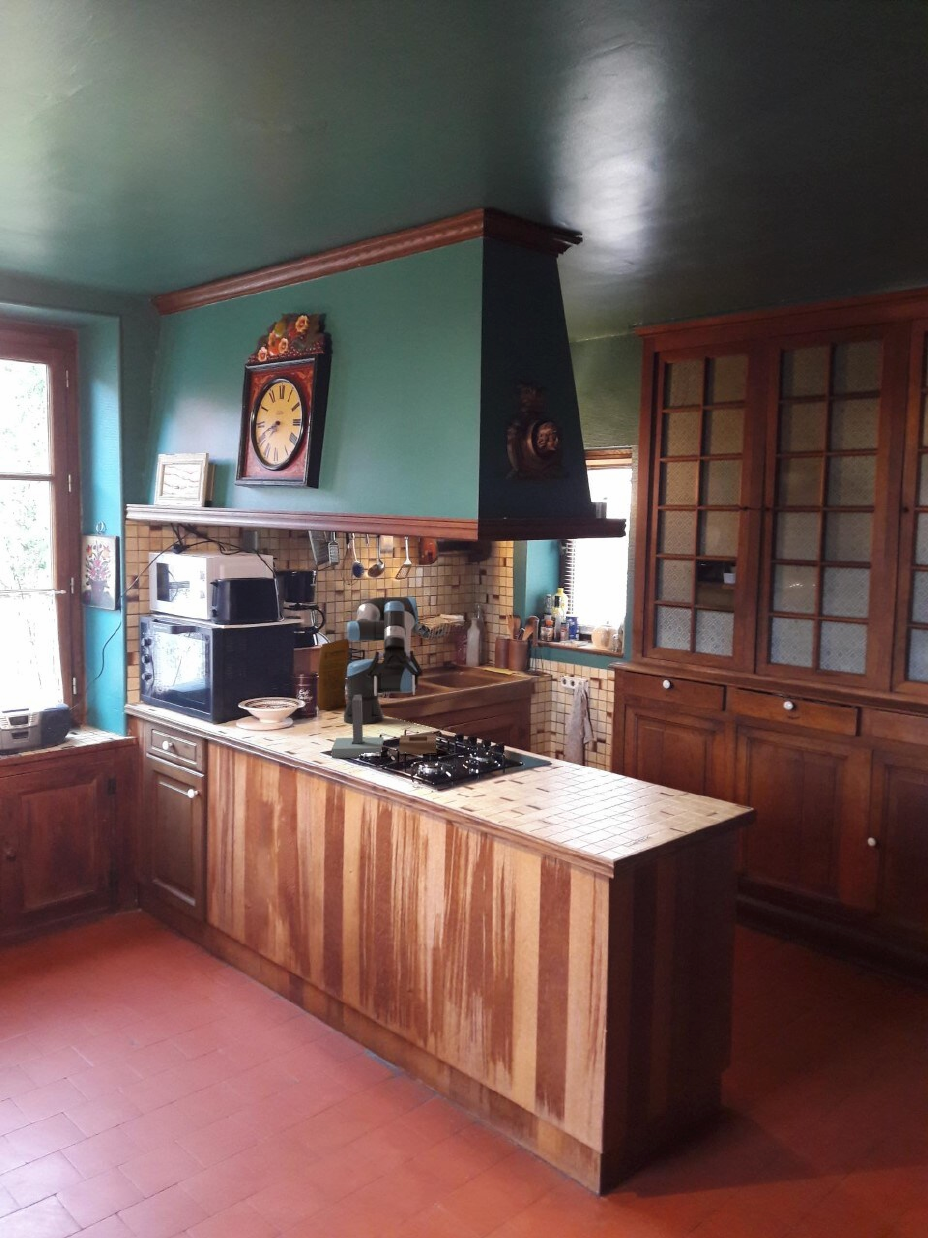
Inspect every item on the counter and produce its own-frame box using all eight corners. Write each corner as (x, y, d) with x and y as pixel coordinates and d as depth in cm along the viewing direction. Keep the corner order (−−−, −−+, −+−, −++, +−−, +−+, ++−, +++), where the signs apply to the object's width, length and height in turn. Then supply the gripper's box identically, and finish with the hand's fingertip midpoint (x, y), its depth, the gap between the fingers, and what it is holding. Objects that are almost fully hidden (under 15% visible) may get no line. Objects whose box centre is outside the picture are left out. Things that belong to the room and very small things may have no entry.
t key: (355, 748, 337) (353, 694, 335) (363, 748, 337) (362, 694, 335) (352, 755, 327) (351, 700, 325) (361, 755, 327) (360, 699, 325)
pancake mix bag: (356, 705, 415) (354, 638, 412) (322, 712, 400) (321, 643, 397) (344, 703, 419) (342, 637, 416) (311, 711, 404) (309, 642, 401)
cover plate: (336, 746, 340) (336, 738, 339) (383, 745, 340) (383, 737, 340) (331, 757, 324) (331, 748, 323) (381, 756, 324) (380, 747, 324)
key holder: (400, 746, 338) (400, 735, 338) (436, 746, 338) (436, 734, 338) (399, 755, 326) (399, 743, 326) (436, 754, 327) (436, 742, 326)
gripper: (359, 636, 360) (358, 690, 350) (428, 635, 361) (429, 688, 351) (361, 646, 367) (360, 699, 357) (428, 644, 367) (429, 697, 357)
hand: (394, 693), depth 354 cm, fingers open, 13 cm apart
